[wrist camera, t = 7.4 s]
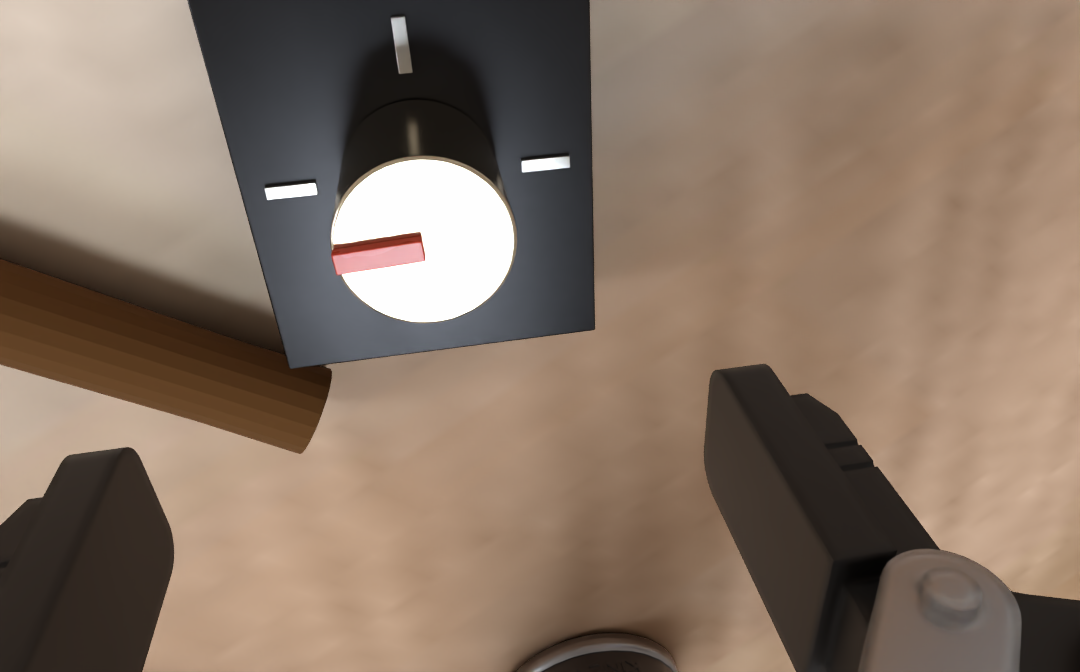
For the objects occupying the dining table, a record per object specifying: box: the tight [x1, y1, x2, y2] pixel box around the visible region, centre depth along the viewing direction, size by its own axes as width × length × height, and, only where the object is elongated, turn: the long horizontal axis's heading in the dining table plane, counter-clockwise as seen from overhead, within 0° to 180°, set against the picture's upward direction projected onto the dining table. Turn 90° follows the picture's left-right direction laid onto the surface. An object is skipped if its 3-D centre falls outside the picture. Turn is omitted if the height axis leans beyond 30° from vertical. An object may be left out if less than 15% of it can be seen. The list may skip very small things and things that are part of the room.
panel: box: [187, 0, 595, 369], centre depth 24 cm, size 12×10×3 cm
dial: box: [330, 100, 517, 323], centre depth 20 cm, size 4×4×5 cm
